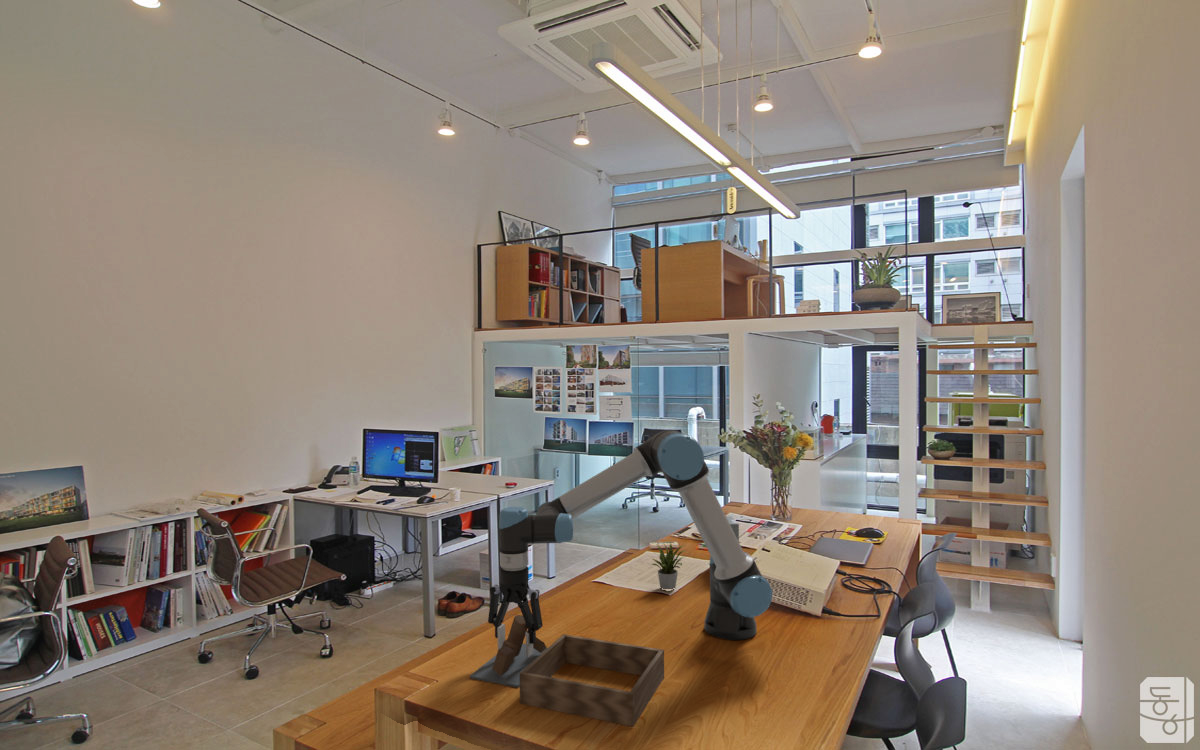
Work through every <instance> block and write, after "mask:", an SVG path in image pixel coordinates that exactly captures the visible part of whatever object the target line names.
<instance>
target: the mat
mask: <svg viewBox="0 0 1200 750" xmlns="http://www.w3.org/2000/svg"><path fill="white" fill-rule="evenodd" d="M546 647H547V646H546ZM548 647H549V646H548ZM548 647H547V648H548ZM545 650H546V649H545ZM545 650H544V651H545ZM544 651H543V652H544ZM543 652H542V653H543ZM542 653H540V652H538V651H537V650H536V649H534V648H533V654H532V655H531V656H529V657H526V643H523V644H522V647H521V650H520V653H519V655H518V656H516V657H515V658H514V661H513V662H512V663H511V664H510V666H509V669H508V671H507V672H505V673H504V674H503V675H499V674H498V673H497V672H495V671H494V670H493V669H492V668H493V665H494V662H495V659H496V656H497V654H495V655H494V656H492V658H490V659H489V660H488V661H486V662H485V663H484V664H483V665H481V666H480V667H479V668H478V669H477V670H475V671H474V672H473V673H472V674H470V675H469V679H472V680H476V679H477V681H481V680H482V682H487V683H493V684H497V683H498V684H497V685H503V686H507V687H512V688H513V687H514V688H519V689H520V673H521V672H522V671H523V670H524V669H525V668H526V667H527V666H528V665H530V664H531V663H532V662H533V661H534V660H535V659H536V658H537V657H538V656H540V655H541V654H542ZM488 681H489V682H488Z"/></svg>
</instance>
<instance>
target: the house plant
mask: <svg viewBox="0 0 1200 750" xmlns="http://www.w3.org/2000/svg"><path fill="white" fill-rule="evenodd" d="M662 544H663V545H664V547H665V551H666V554H665V553H664V550H663V548H661V547H660V546H659V545H658V544H656V546H657V548H658V551H659V555H657V557H658V558H659V560H660V561H659V560H657V559H654V558H652V560H653V561H654V562H655V563H652V564H651V565H653V566H656V567H658V568H659V569H658V570H657V575H658V576H657V577H658V582H659V586H660V587H661V588H663V589H673V588H675V589H676V588H677V587H676V585H677V580H678V573H679V572H678V570H677V569H678V568H679V569H681V567H682V566H683V563H681V561H682V559H683V558H685V557H680V558H679V559H678V557H679V556H680V555H681V554H682V553H683V552H687V550H681V549H682V548H683V547H686V544H684V545H681V546H679V547H678V548H676V549H675V548H674V549H673V544H672V543H671V542H670V543H669V549H668V547H667V546H666V544H665V543H663V542H662ZM648 550H650V551H651V549H648ZM680 550H681V551H680ZM652 552H653V553H655V551H654V550H652ZM680 566H681V567H680ZM675 568H677V569H675ZM660 587H659V588H660ZM661 588H660V589H661Z"/></svg>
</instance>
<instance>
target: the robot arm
mask: <svg viewBox="0 0 1200 750" xmlns="http://www.w3.org/2000/svg"><path fill="white" fill-rule="evenodd" d="M659 473H662V474H663V476H664V478H665V480H666V482H667V485H668V486H669V488H670V490H673V491H675V492H677V493H678V494H679V496H680V498H681V500H682V501H683V503H684V505H685V508H686V510H687V512H688V513H689V516H690V519H691V520H692V521H693V523H694V525H695V528H696V529H697V531H698V533H699V536H700V538H701V539H702V541H703V543H704V545H705V547H706V549H707V551H708V553H709V563H708V565H709V595H710V596H709V598H710V599H709V606H708V609H707V612H706V616H705V618H704V631H705V632H706V633H707V634H708V635H710V636H711V637H714V638H718V639H722V640H727V641H728V640H729V641H738V640H739V641H740V640H748V639H750V638H753V637H754V636H755V635H757V622H756V617H759V616H760V615H762V614H763V613H764V612H766V611H767V610H768V608H769V607H770V605H771V603H772V600H773V596H774V595H773V594H774V593H773V589H772V587H771V584H770V582H769V581H768V580H767V578H765V577H764V576H763V575H762V573H761V571H760V569H759V567H758V565H757V563H756V561H755V559H754V558H753V556H752V555H751V554H749V553H748V552H745V551H744V550H743V547H742V546H741V544H740V541H739V542H738V540H737V538H736V536H735V534H734V532H733V530H732V528H731V526H730V524H729V522H728V520H727V518H726V516H727V515H726V514H725V512H724V510H723V508H722V506H721V504H720V501H719V500H718V498H717V496H716V494H715V492H714V490H713V487H712V486H711V484H710V481H709V480H708V476H709V473H710V468H709V467H708V465H707V464H706V461H705V454H704V451H703V448H702V446H701V445H700V443H699V441H697V440H696V439H695V438H694V437H693V436H691V435H689V434H687V433H683V432H681V431H678V430H673V429H666V430H663V431H660V432H658V433H656V434H654V435H653V436H651V437H650V438H648V439H647V440H645V441H644V442H642V443H641V444H639V445H637V446H636V447H635V448H634V450H633V452H632V453H631V454H629V455H627V456H626V457H624V458H622V459H621V460H619V461H617V462H615V463H614V464H612V465H610V466H609V467H607V468H605V469H604V470H602V471H600V472H599V473H597V474H595V475H593V476H592V477H590V478H587V480H585V481H583V482H581V483H580V484H578V485H577V486H574V487H573V488H572V489H570V490H568V491H567V492H565V493H564V494H562V495H560V496H558V497H557V498H555V499H553V500H551V501H546V502H545V501H544V502H543V503H542V504H540V505H539V507H538V508H537V510H536V513H535V514H529V513H528V512H529V511H528V509H527V508H526V507H524V506H509V507H508V506H507V507H505V508H503V509H501V510H500V512H499V522H498V526H499V527H498V531H499V532H498V535H499V536H498V539H499V541H498V542H499V566H500V568H499V581H500V584H499V585H498V584H494V585H493V586H491V587H490V588H489V591H490V602H489V603H490V604H489V609H488V618H487V619H488V620H487V622H488V624H492V625H493V626H494V637H495V639H497V651H498V650H499V649H500V648H501V647H502V645H503V642H504V641H505V640H506V624H505V622H504V619H505V617H506V614H507V611H508V609H509V605H510V603H514V604H516V605H517V607H518V608H519V610H520V612H521V615H522V616H523V617H524V620H525V623H526V626H527V628H528V629H527V631H526V635H525V644H526V657H529V656H531V655H532V654H533V643H534V642H535V641H536V637H537V634H536V633H537V631H539V630H541V628H542V627H543V624H544V623H543V620H542V619H543V618H542V611H541V605H540V600H539V598H540V590H539V589H535V590H534V589H532V588H531V587H530V585H529V581H530V580H529V579H530V578H529V577H530V576H529V575H530V574H529V570H530V569H529V567H528V565H529V545H534V544H535V545H536V544H537V545H538V544H562V543H563V544H564V543H570V542H572V541H573V539H574V521H573V520H574V519H575V518H578V517H579V516H580V515H582V514H584V513H586V512H588V511H589V510H590V509H593V508H594V507H596V506H597V505H600V504H601V503H603V502H605V501H606V500H608V499H610V498H611V497H613V496H615V495H616V494H618V493H620V492H621V491H623V490H625V489H626V488H628V487H630V486H631V485H633V484H634V483H635V484H636V483H637V482H638V481H640V480H642V479H643V478H645V477H654V476H655V475H657V474H659ZM500 593H501V594H502V599H501V602H500ZM528 596H529V597H528ZM528 598H529V599H530V600H528ZM499 602H500V606H499ZM529 602H530V605H529Z"/></svg>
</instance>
